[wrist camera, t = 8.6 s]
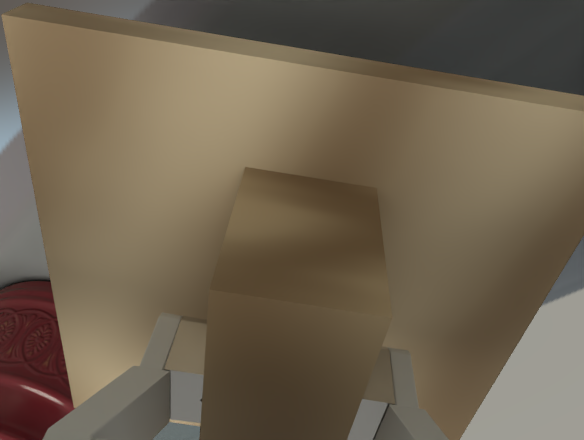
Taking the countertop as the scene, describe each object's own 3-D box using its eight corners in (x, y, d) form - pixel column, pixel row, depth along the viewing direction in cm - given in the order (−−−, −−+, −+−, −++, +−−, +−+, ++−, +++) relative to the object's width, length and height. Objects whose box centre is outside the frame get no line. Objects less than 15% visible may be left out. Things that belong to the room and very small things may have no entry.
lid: (628, 103, 11) (801, 247, 7) (440, 436, 19) (470, 598, 14) (26, 2, 11) (-164, 91, 7) (85, 383, 18) (13, 533, 14)
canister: (107, 266, 36) (-46, 537, 22) (169, 382, 43) (84, 642, 29) (-50, 285, 38) (-283, 540, 24) (33, 391, 45) (-107, 637, 31)
